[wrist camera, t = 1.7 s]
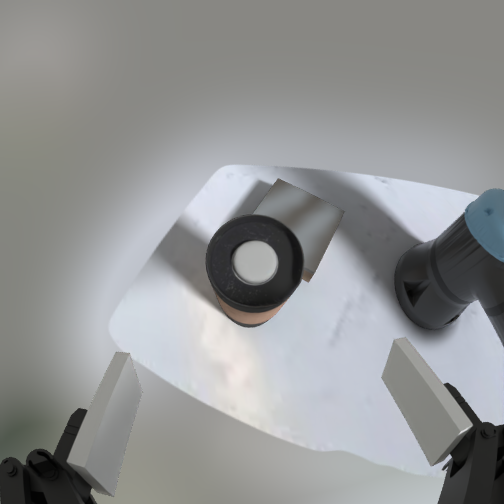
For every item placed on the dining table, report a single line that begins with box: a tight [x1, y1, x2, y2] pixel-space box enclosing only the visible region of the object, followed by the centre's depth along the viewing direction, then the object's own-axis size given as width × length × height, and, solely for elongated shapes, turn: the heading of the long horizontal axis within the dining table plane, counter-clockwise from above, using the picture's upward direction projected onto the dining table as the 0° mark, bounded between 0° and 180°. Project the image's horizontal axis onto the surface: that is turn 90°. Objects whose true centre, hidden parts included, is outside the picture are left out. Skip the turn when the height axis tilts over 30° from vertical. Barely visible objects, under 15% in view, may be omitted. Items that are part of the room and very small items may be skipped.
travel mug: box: [206, 214, 304, 328], centre depth 30 cm, size 8×8×20 cm
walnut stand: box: [253, 179, 345, 282], centre depth 43 cm, size 12×12×4 cm
